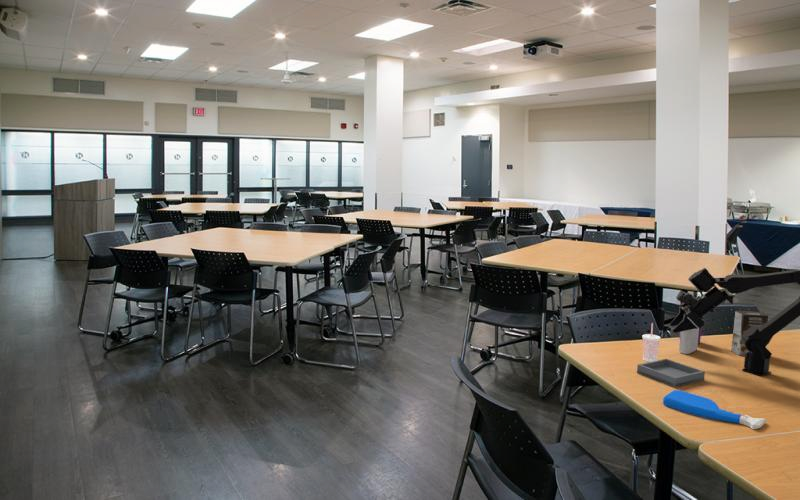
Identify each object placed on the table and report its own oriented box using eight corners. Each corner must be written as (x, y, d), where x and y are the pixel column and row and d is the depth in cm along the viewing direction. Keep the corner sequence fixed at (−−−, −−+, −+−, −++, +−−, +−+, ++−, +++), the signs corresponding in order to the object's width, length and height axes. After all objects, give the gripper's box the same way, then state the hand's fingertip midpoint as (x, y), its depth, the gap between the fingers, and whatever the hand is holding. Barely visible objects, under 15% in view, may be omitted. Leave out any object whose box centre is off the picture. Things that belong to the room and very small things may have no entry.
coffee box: (738, 355, 210) (742, 314, 208) (730, 350, 217) (734, 310, 214) (764, 356, 209) (768, 315, 207) (755, 351, 216) (759, 311, 214)
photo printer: (687, 347, 221) (689, 316, 219) (698, 349, 217) (701, 319, 216) (677, 352, 213) (679, 321, 212) (689, 355, 210) (691, 323, 209)
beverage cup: (637, 358, 206) (639, 321, 204) (649, 356, 208) (651, 320, 206) (650, 363, 200) (653, 326, 198) (662, 361, 203) (665, 324, 201)
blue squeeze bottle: (661, 397, 163) (756, 425, 145) (675, 387, 170) (768, 414, 153) (660, 406, 164) (755, 436, 146) (674, 396, 171) (767, 424, 153)
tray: (704, 380, 184) (704, 371, 184) (674, 387, 178) (675, 378, 177) (665, 366, 197) (666, 358, 197) (637, 372, 190) (637, 364, 190)
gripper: (688, 279, 205) (654, 306, 210) (696, 289, 188) (658, 317, 193) (711, 302, 203) (675, 328, 208) (720, 314, 186) (681, 342, 191)
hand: (672, 328), depth 200 cm, fingers open, 9 cm apart
